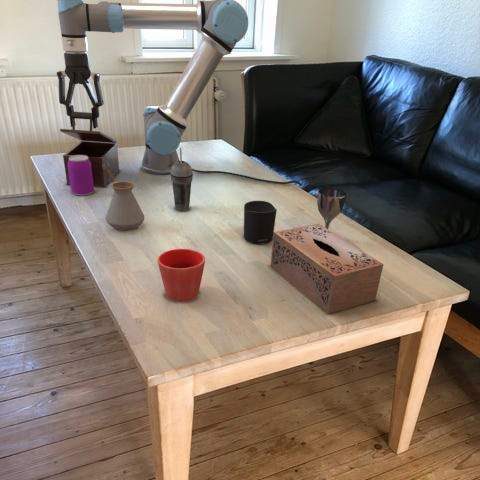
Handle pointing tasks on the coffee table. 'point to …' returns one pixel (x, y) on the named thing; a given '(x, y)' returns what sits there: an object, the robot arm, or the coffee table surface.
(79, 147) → the chest
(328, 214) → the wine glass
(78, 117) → the lid
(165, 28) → the robot arm
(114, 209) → the coffee pot
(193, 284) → the flower pot
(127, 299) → the coffee table surface
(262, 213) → the pen holder
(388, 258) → the coffee table surface
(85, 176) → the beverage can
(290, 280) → the tissue box cover
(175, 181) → the beverage cup
